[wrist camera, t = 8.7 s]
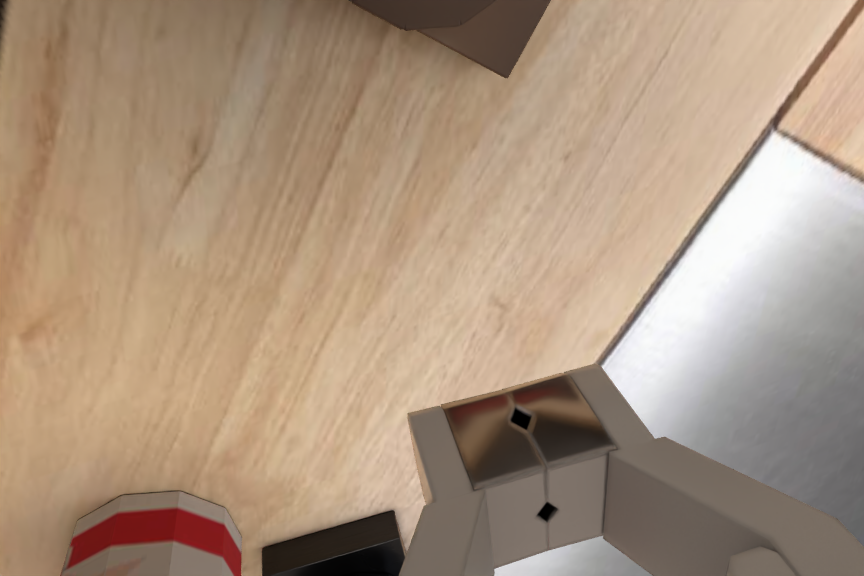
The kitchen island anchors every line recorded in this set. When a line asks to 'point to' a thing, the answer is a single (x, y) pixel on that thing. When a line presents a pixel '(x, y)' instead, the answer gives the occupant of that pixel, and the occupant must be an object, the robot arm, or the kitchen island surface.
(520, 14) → the block
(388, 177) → the kitchen island surface
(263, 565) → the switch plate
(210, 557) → the spray bottle
